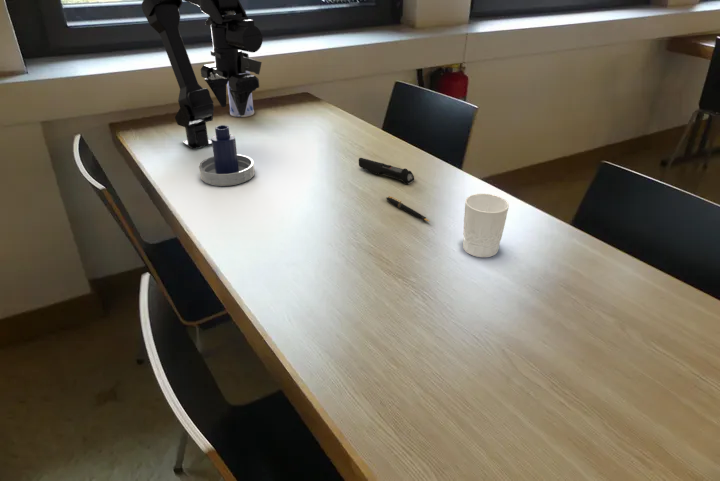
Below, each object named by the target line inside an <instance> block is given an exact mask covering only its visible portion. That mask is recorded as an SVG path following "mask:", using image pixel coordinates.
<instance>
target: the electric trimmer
mask: <svg viewBox="0 0 720 481" xmlns="http://www.w3.org/2000/svg"><path fill="white" fill-rule="evenodd" d="M358 166H359V167H360V168H361V169H364V170H366V171H368V172H370V173H373V174H375V175H379V176H380V175H384V176H385V177H389V178H393V179H395V180H399V181H402V182H403V184H405V185H407V184H408V185H410V184H412V183H414V182H415V175H414V174H413V172H412V170H408V168H401V167H397V166H394V165H390V164H386V163H384V162H380V161H375V160H371V159H367V158H364V157H359V158H358Z"/></svg>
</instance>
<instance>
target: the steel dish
mask: <svg viewBox="0 0 720 481" xmlns="http://www.w3.org/2000/svg"><path fill="white" fill-rule="evenodd" d="M237 158H238V167H239V172H236V173H229V174H216V170H215V163H214V156H213V155H212V156H210V157H208V158H204V159H203V160H202V161H201V162H199V165H198V171H199V176H200V179H201V181H202V182H204V183H205V184H208V185H212V186H217V187H219V186H220V187H230V186H236V185H240V184H243V183H245V182H248V181H249V180H251V179H252V178H253V177H254V176H255V173H256V172H255V161H254V160H253V158H251V157H250V156H247V155H243V154H238V153H237Z"/></svg>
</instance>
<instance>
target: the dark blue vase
mask: <svg viewBox="0 0 720 481" xmlns="http://www.w3.org/2000/svg"><path fill="white" fill-rule="evenodd" d="M214 131H215V135H213V136H211V138H210V141H212V145H211V147H212V157H213V156H214V163H215V170H216V174H229V173H236V172H239V167H238V158H237V154H238V150H237V142H236V136H235V135H234V134H231V133H230V127H229V125H225V124H222V125H217V126H215V127H214Z"/></svg>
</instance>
